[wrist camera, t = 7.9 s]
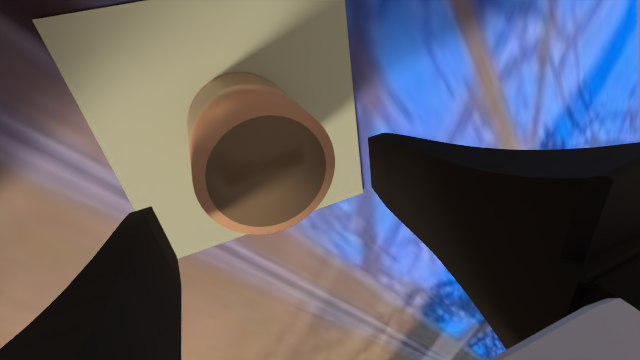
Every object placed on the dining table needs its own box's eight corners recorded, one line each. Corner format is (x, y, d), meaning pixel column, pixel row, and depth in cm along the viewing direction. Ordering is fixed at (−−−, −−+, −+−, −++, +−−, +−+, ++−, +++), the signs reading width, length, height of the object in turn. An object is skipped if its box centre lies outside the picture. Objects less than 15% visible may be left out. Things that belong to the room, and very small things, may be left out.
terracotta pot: (302, 153, 18) (345, 206, 13) (210, 186, 17) (223, 255, 12) (278, 58, 15) (322, 84, 11) (168, 90, 14) (165, 133, 10)
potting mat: (361, 191, 21) (362, 193, 21) (163, 261, 18) (163, 263, 18) (339, -33, 15) (341, -33, 15) (33, 19, 12) (31, 19, 12)
